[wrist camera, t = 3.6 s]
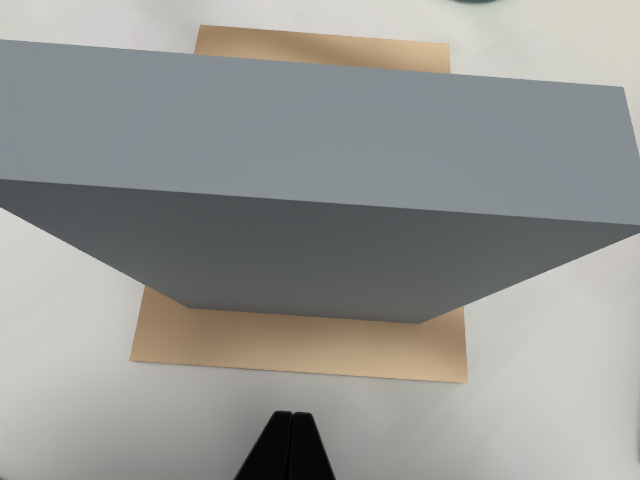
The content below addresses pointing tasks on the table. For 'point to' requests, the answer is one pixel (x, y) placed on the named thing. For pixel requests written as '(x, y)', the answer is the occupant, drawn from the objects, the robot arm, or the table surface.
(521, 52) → the table surface
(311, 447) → the robot arm
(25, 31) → the table surface
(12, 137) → the gray rectangular block
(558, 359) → the table surface
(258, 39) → the wooden board
